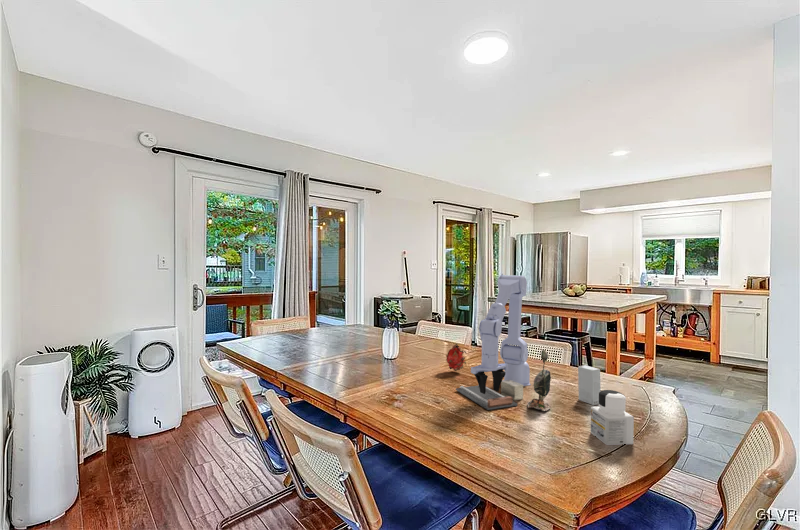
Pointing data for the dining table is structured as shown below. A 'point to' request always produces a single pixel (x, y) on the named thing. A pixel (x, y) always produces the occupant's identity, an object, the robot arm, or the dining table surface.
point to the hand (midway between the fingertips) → (489, 391)
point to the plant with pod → (541, 386)
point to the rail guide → (486, 397)
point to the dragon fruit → (455, 358)
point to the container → (612, 419)
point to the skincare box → (589, 384)
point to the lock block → (512, 389)
